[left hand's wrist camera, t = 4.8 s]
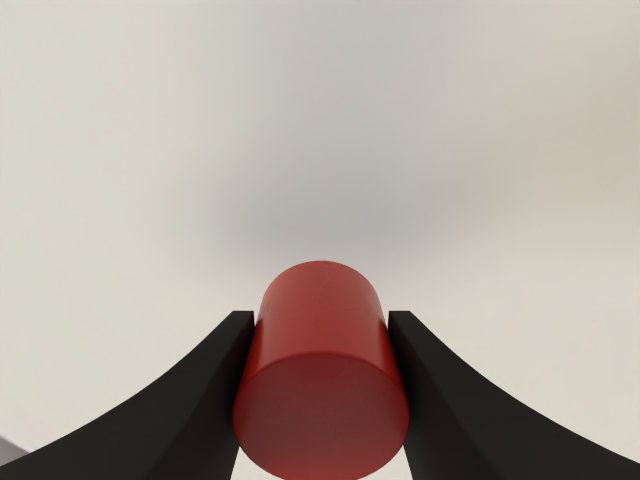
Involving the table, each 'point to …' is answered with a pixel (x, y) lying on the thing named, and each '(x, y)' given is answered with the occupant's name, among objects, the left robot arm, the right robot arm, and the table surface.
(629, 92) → the table surface
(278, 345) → the can
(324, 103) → the table surface
